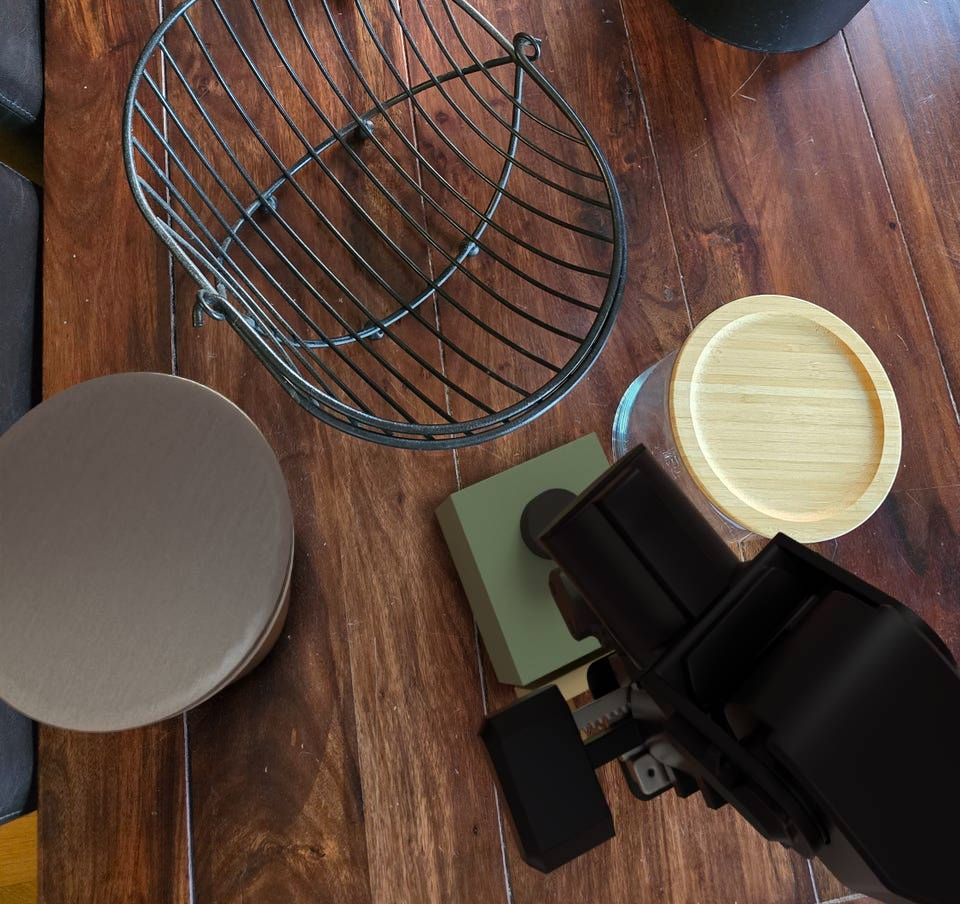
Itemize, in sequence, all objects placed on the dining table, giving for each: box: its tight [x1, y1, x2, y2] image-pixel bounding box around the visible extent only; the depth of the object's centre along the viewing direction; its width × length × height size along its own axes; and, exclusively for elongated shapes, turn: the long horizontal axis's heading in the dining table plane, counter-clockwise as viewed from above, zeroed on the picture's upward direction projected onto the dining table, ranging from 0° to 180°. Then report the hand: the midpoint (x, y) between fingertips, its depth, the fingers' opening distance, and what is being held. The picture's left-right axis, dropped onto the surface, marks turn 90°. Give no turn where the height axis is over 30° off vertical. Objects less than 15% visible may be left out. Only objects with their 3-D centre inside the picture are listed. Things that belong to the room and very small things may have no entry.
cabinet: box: [434, 431, 611, 686], centre depth 69 cm, size 11×10×8 cm
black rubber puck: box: [520, 488, 577, 560], centre depth 65 cm, size 4×4×2 cm
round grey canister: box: [0, 371, 295, 734], centre depth 52 cm, size 10×10×40 cm
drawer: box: [514, 645, 615, 740], centre depth 68 cm, size 13×8×6 cm, turn 23°
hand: (637, 695), depth 60 cm, fingers closed
